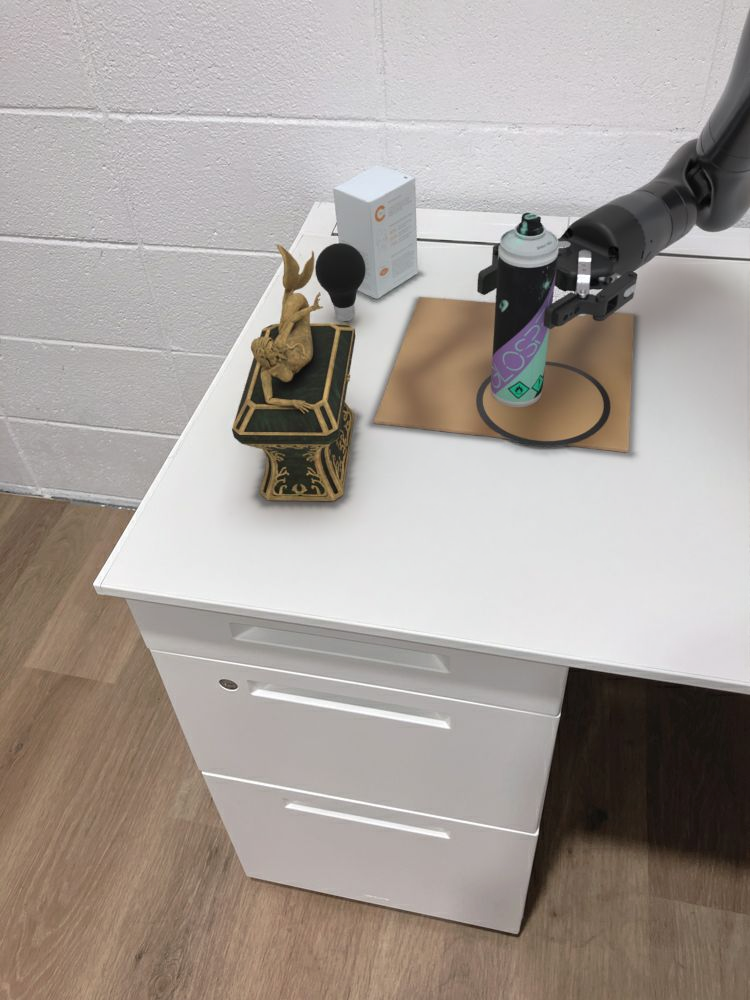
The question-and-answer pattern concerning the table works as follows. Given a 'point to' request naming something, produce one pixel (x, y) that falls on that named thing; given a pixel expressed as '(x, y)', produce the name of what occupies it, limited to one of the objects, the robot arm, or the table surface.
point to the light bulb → (341, 277)
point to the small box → (379, 226)
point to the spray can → (522, 311)
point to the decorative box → (299, 398)
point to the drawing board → (468, 367)
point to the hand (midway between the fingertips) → (512, 302)
